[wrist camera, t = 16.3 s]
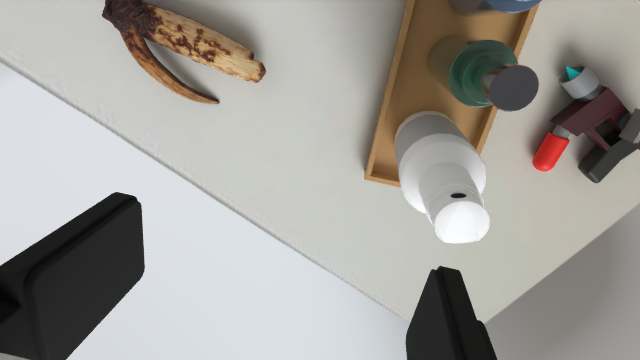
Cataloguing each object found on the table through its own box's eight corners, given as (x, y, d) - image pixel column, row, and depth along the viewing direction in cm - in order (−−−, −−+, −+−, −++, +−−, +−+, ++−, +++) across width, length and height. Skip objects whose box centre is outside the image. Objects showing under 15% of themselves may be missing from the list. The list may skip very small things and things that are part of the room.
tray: (424, -69, 32) (427, -75, 30) (549, -47, 31) (561, -52, 29) (364, 172, 42) (364, 179, 40) (458, 192, 41) (462, 200, 39)
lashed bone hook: (113, 59, 41) (253, 123, 41) (82, 64, 37) (238, 135, 37) (122, -26, 37) (278, 45, 37) (88, -32, 33) (264, 49, 33)
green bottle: (435, 31, 34) (487, 36, 18) (482, 40, 34) (576, 53, 18) (421, 78, 36) (457, 121, 20) (465, 87, 36) (538, 137, 20)
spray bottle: (457, 105, 37) (522, 170, 20) (458, 165, 39) (517, 265, 23) (391, 113, 38) (403, 180, 22) (396, 171, 41) (410, 270, 24)
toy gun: (575, 50, 34) (604, 54, 29) (647, 133, 36) (686, 149, 31) (490, 122, 37) (505, 135, 33) (560, 194, 40) (583, 215, 35)
